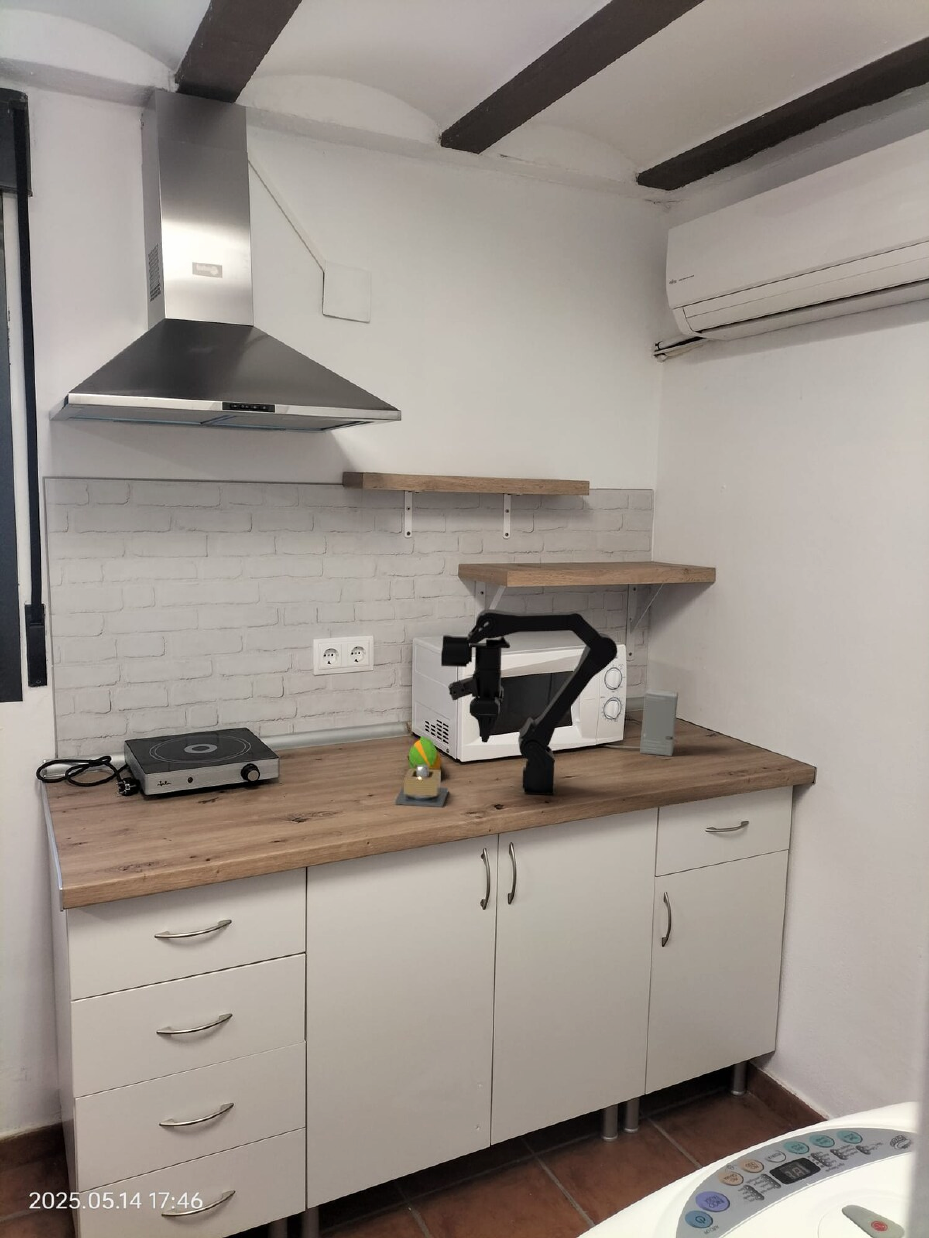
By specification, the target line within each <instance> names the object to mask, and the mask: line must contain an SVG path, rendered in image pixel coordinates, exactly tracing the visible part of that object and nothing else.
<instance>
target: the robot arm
mask: <svg viewBox="0 0 929 1238" xmlns="http://www.w3.org/2000/svg"><path fill="white" fill-rule="evenodd" d="M475 618H476V619H475V620H476V621H475V625H474V626H473V628H472V629H471V631H469V633H468V634H467V636H461V635H459V636H457V635H456V636H455V635H448V634H446V635H445V634H444V635H443V636H442V648H441V654H440V655H441V657H440V658H441V659H440V660H441V661H440V662H441V663H440V664H441V667H449V668H450V667H452V668H457V667H458V668H460V667H461V668H467V667H468V665H470V663H473V648H474V649H475V650H474V651H475V652H474V671H473V673H472V676H470V677H466V678H463V679H458V680H457V681H453V682H451V683H449V685H448V691H449V695H450V696H451V699H452V701H456V700H457V701H458V700H459V699H460V698H464V697H466V696H470V695H471V698H473V699H471V701H470V703H469V712H468V713H469V714H470V716H472V717H474V719H475V720H477V724H478V728H479V732H480V733H479V734H480V737H481V742H482V743H488V741H489V739H490V737H491V734H492V731H493V729H494V727H495V725H496V723H497V720H498V717H499V716H500V715H499V714H500V709H501V706H502V704H503V703H502V702H503V698H504V687H503V686H502V685H501V681H502V678H501V677H502V649H510V648H511V645H510V644H511V643H510V642H509V641H507V640H506V638H505V636H509V635H511V634H515V633H517V634H518V633H531V632H532V633H533V632H535V633H536V632H539V633H540V632H567V631H568V632H569V631H571V632H573V633H574V634H575V636H577V637H578V638H579V639H580V640H581V641H582V642H583V643H584V644H585V646H584V649H583V650H582V653H581V655H580V658H579V661H578V664H577V666H576V667H575V668H574V669H573V671H572V672H571V674H570V675H569V676H568V678H567V679H566V680H565V682H564V683H563V684H562V686H561V687H560V689H559V690H558V692H557V693H556V694H555V695H554V697H553V698H552V699H551V701H550V702H549V704H548V705H547V707H546V708H545V709H544V711H543V712H542V713H541V715H539V716H538V717H537V718H536V719H533V718H532V717H531V716H529V717H528V718H527V719H526V722H525V724H524V725H523V727H522V728H521V727H520V729H518V732H519V735H518V737H517V739H518V740H517V741H518V747H519V752H520V755H521V756H522V757H523V758H524V759H526V760H525V766H523V768H522V789H524V790H523V793H524V794H525V795H527V794H530V795H531V794H532V795H546V796H547V795H550V796H551V795H554V794H555V785H554V783H555V781H554V780H555V763H556V760H555V756H554V753H553V749H552V748H551V747H550V746H549V745H550V743H551V741H552V738H553V735H554V733H555V730H556V728H557V726H559V724H560V723H561V721H562V720H563V718H564V717H565V716H566V715H567V713H568V711H569V710H570V709H571V707H572V706H573V705H574V704H575V702H576V701H577V699H578V698H579V697H580V695H581V694H582V692H584V691H583V690H585V688H586V687H587V686H588V684H589V683H590V681H591V680H592V679H593V677H596V675H598V674H600V673H601V672H602V671H603V670H605V668H606V667H607V666H609V665H610V664H611V663H612V662H613V661H614V660H615V659H616V657H617V655H618V647H617V646H618V645H617V644H616V641H614V640H613V639H612V637H610V636H609V634H606V633H604V632H598V631H597V630H596V629H595V628H594V627H593V626H592V625H591V624H590V623H589V622H587V620H586V619H584V617H583V616H582V615H581V613H580V612H578V611H574V610H572V611H568V612H544V613H543V612H541V613H540V612H539V613H534V612H533V613H532V612H531V613H516V612H515V613H514V612H509V611H506V610H499V609H492V608H488V609H487V608H486V609H483V610H482V611H480V612H479V613H478V614H477V616H476V617H475ZM497 638H498V639H497ZM483 640H485V642H482V641H483Z"/></svg>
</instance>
